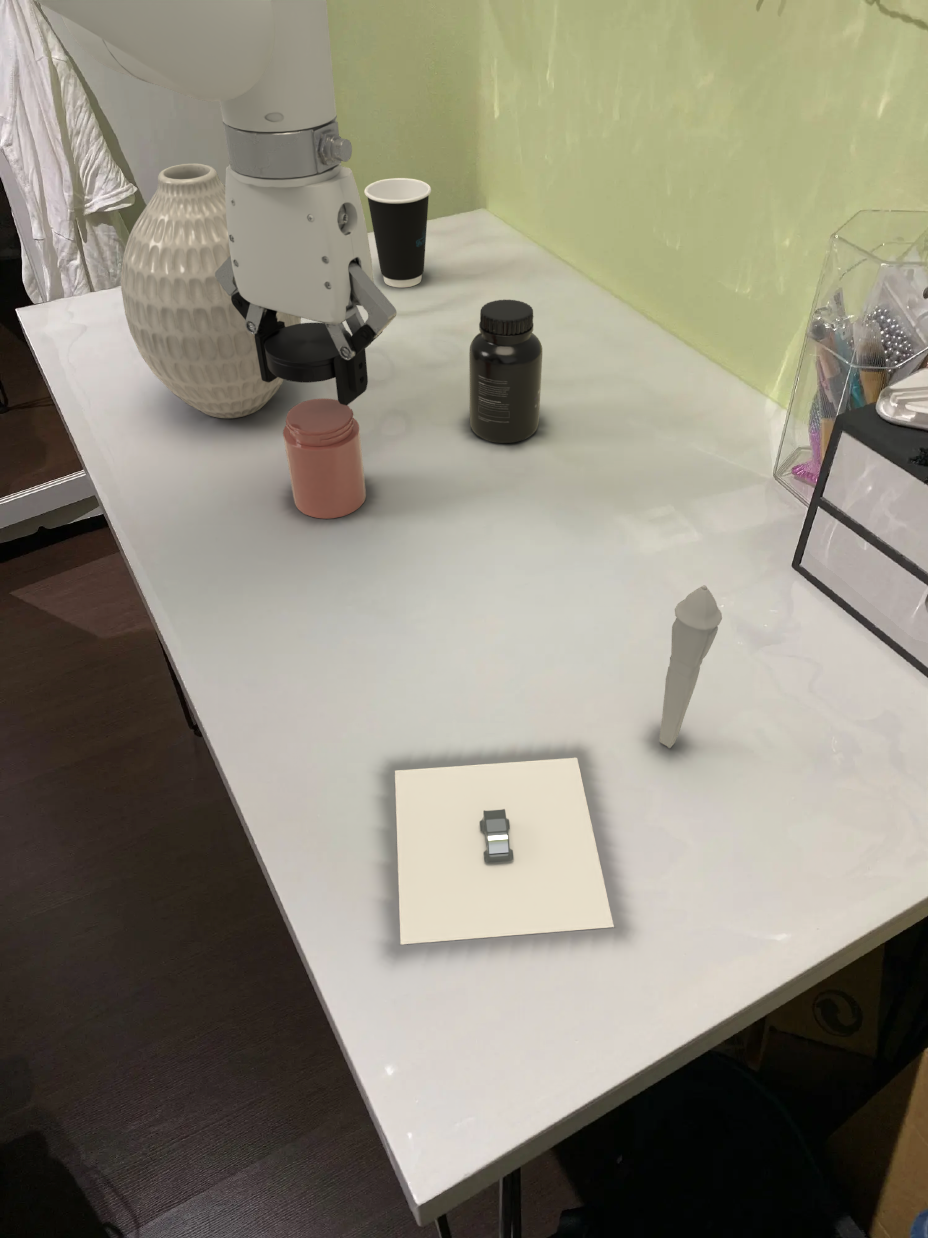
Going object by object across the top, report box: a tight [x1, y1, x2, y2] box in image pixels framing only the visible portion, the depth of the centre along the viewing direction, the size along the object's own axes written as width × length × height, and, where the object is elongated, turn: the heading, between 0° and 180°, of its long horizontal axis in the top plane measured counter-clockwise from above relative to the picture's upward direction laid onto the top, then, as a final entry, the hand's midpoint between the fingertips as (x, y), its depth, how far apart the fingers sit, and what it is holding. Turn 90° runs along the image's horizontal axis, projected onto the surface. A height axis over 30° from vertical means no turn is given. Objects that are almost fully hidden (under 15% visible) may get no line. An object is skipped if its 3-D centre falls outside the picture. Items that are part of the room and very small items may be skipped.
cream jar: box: [282, 397, 367, 520], centre depth 78 cm, size 6×6×8 cm
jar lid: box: [265, 322, 352, 384], centre depth 71 cm, size 7×7×2 cm
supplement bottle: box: [468, 299, 543, 444], centre depth 85 cm, size 7×7×12 cm
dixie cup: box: [364, 177, 432, 289], centre depth 112 cm, size 8×8×11 cm
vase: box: [120, 163, 302, 419], centre depth 86 cm, size 16×16×22 cm
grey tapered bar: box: [659, 585, 723, 749], centre depth 56 cm, size 2×3×14 cm
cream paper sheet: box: [394, 757, 615, 945], centre depth 55 cm, size 12×12×2 cm
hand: (314, 384), depth 73 cm, fingers closed on jar lid, 6 cm apart
